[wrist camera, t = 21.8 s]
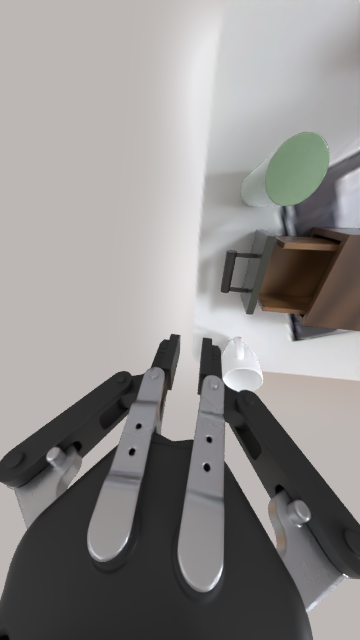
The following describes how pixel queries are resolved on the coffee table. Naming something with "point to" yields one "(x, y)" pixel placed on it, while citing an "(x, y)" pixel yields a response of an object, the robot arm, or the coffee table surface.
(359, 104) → the coffee table surface
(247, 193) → the green cylinder
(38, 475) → the robot arm
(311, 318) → the cabinet
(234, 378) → the mug
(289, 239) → the drawer
